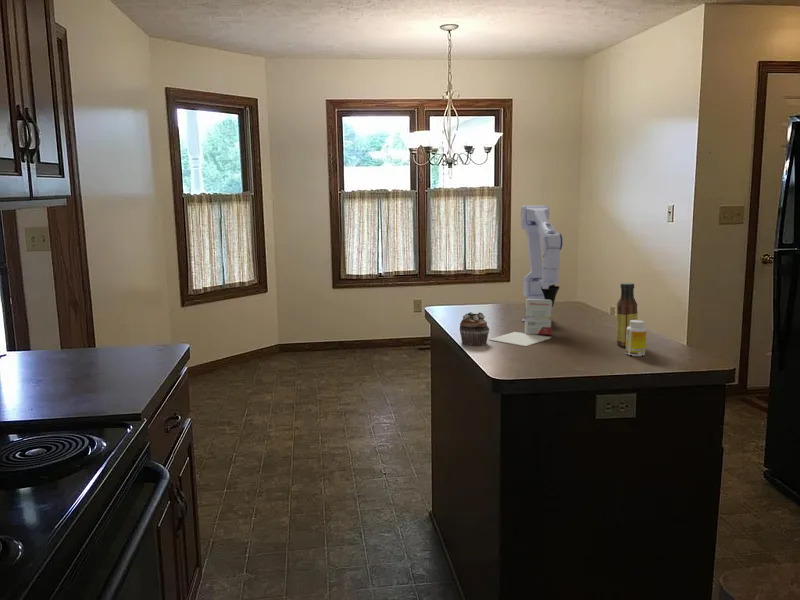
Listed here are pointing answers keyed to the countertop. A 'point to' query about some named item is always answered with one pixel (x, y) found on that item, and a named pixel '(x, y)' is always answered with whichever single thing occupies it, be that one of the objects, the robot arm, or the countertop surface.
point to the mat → (520, 338)
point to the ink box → (538, 316)
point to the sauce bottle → (625, 311)
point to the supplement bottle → (636, 338)
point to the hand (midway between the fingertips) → (549, 306)
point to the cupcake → (474, 330)
